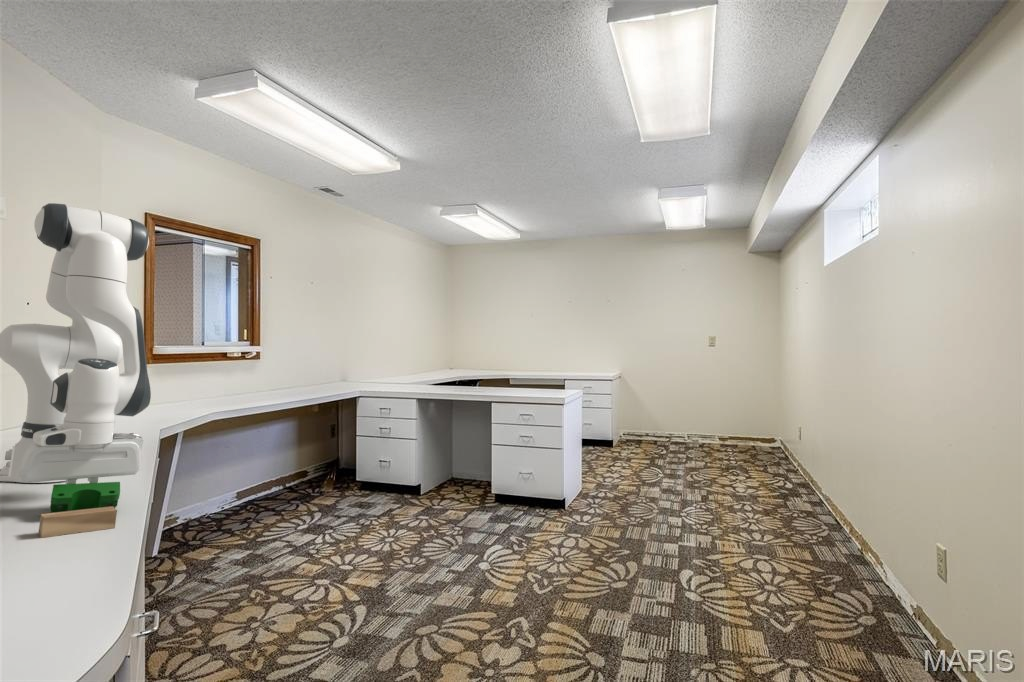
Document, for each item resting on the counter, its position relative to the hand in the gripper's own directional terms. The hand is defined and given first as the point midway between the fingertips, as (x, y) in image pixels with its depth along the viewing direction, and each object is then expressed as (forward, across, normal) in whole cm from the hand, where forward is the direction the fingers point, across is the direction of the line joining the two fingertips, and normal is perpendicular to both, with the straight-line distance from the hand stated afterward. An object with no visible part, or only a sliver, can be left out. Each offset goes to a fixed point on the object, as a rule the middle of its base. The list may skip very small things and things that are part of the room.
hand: (79, 499), depth 115 cm
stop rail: (+2, +3, +16) cm, 16 cm away
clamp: (+2, 0, +4) cm, 5 cm away
